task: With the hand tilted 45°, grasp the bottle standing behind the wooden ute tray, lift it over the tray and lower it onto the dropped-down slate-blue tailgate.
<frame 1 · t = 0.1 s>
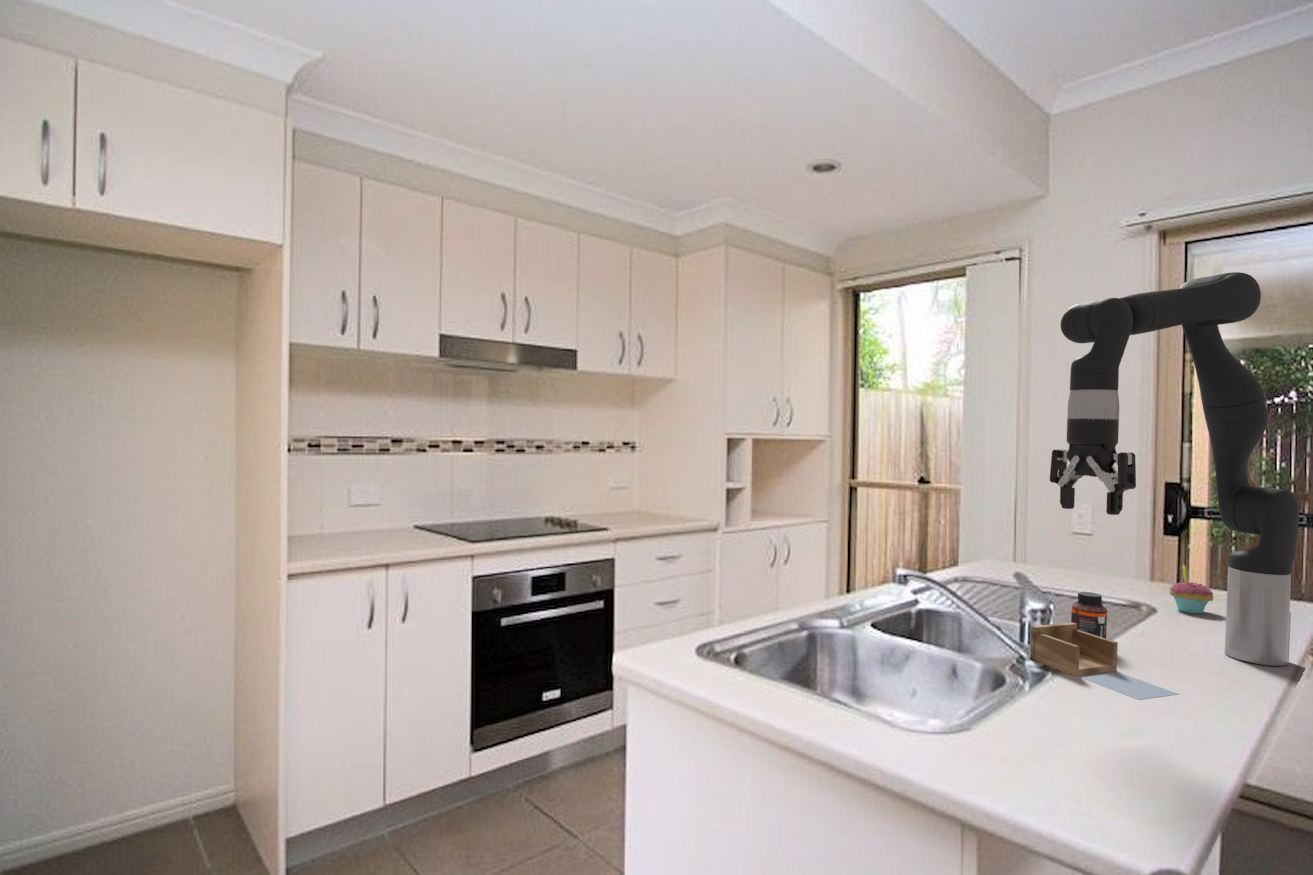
hand: (1089, 511, 119), 29 cm above the worktop, tool pointing down, fingers open, 8 cm apart
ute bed: (1072, 669, 125), on the worktop
cupcake: (1190, 612, 170), on the worktop
tailgate: (1128, 688, 115), on the worktop, hinge at 90.0°
supplement bottle: (1087, 652, 136), on the worktop
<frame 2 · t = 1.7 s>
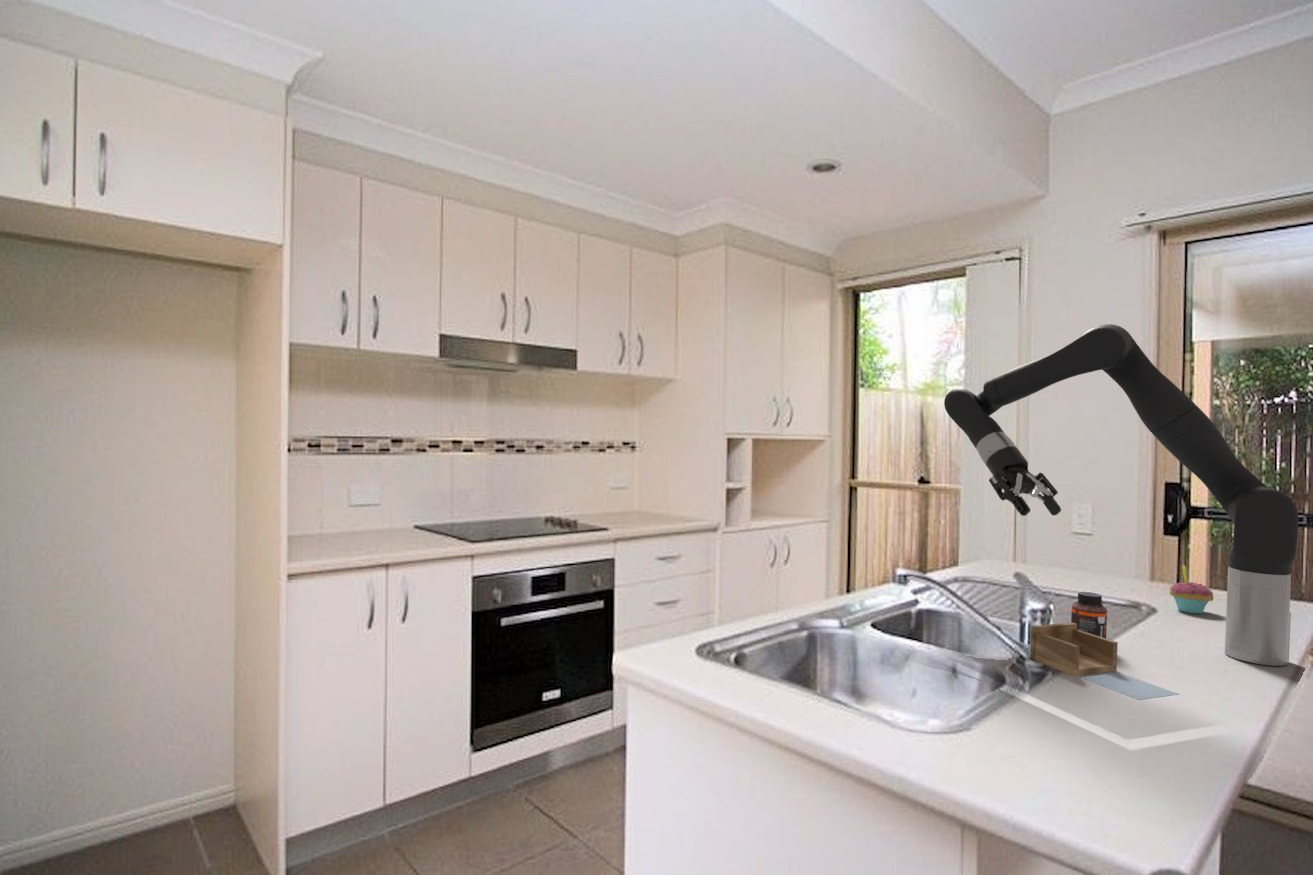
hand: (1042, 513, 146), 26 cm above the worktop, tool tilted 45°, fingers open, 8 cm apart
nothing on the worktop moved.
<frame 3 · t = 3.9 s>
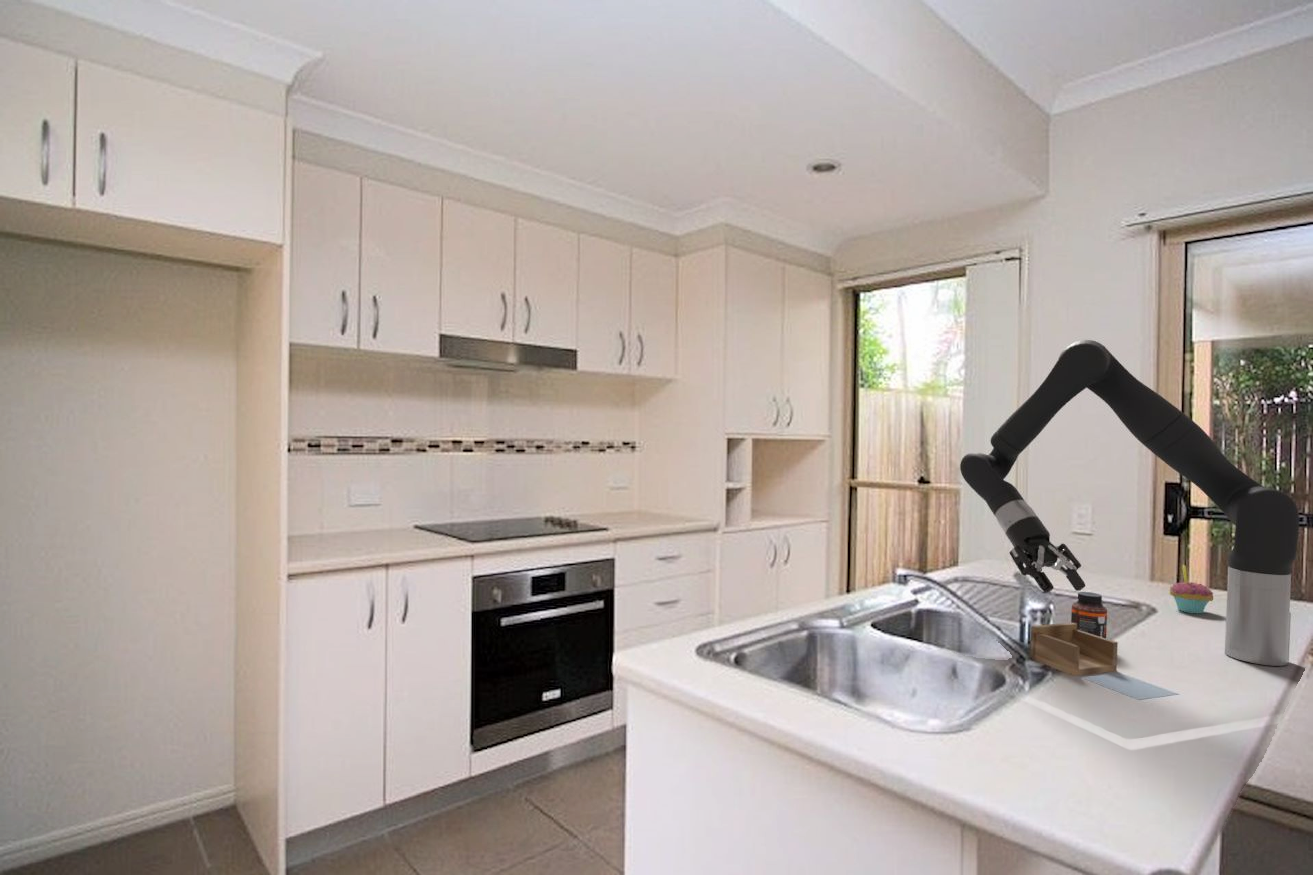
hand: (1065, 589, 141), 11 cm above the worktop, tool tilted 45°, fingers open, 8 cm apart
nothing on the worktop moved.
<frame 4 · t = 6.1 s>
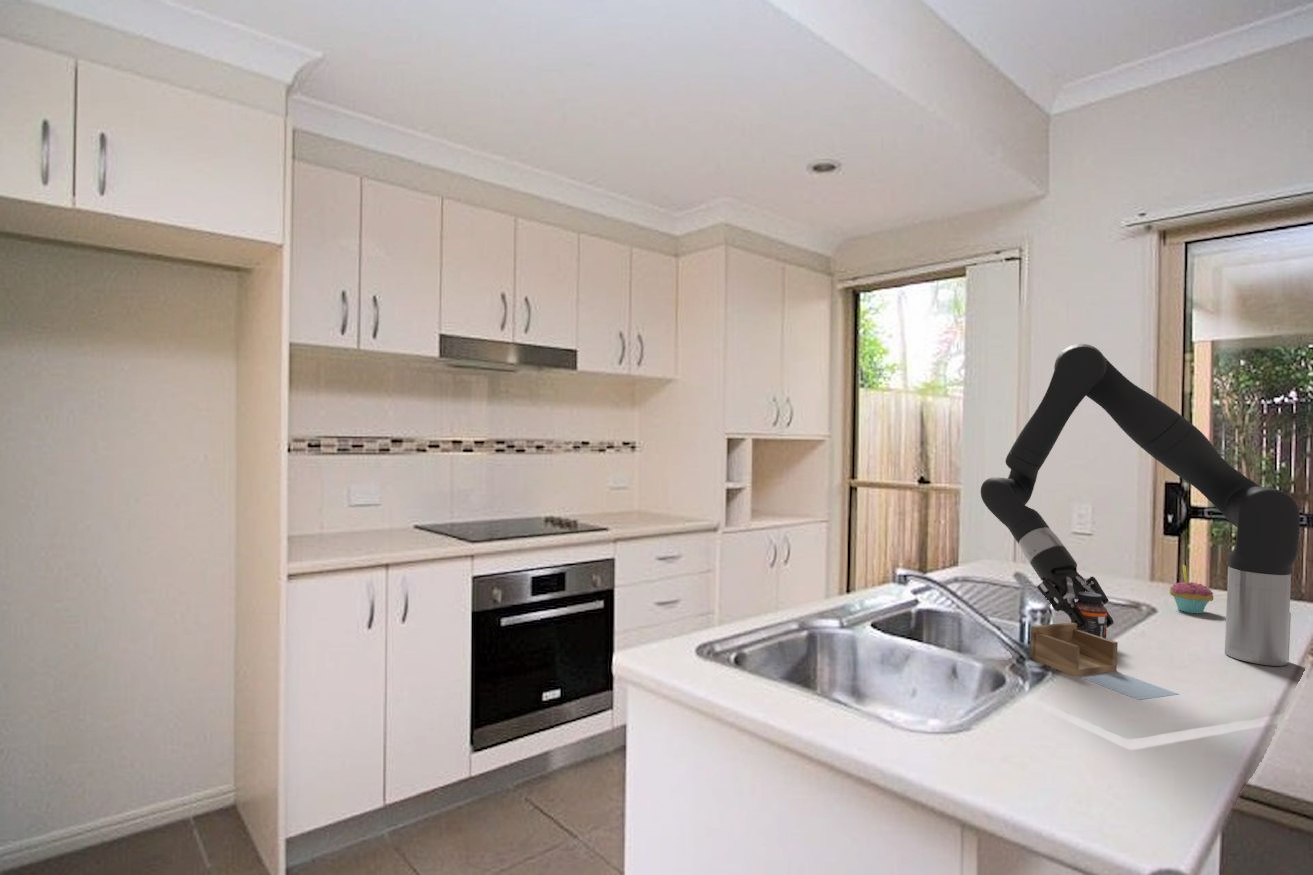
hand: (1097, 626, 134), 5 cm above the worktop, tool tilted 45°, fingers closed on supplement bottle, 6 cm apart
supplement bottle: (1087, 651, 136), on the worktop, touching gripper
everything else where it was.
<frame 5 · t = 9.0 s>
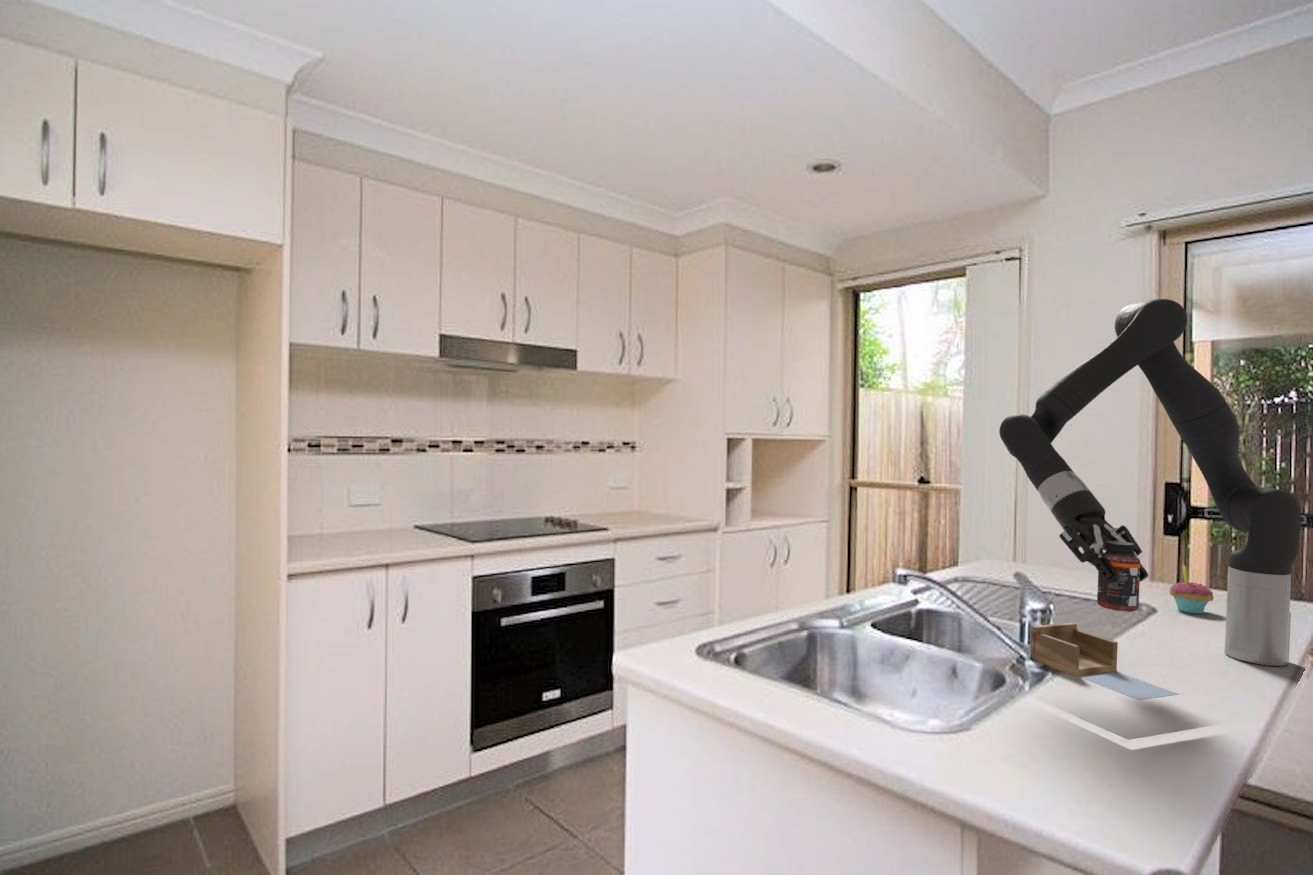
hand: (1128, 579, 117), 18 cm above the worktop, tool tilted 45°, fingers closed on supplement bottle, 6 cm apart
supplement bottle: (1117, 609, 119), point 13 cm above the worktop, touching gripper
everything else where it was.
when the fingers open (8 cm above the worktop, at t = 11.8 s): supplement bottle drops 1 cm, resting on tailgate.
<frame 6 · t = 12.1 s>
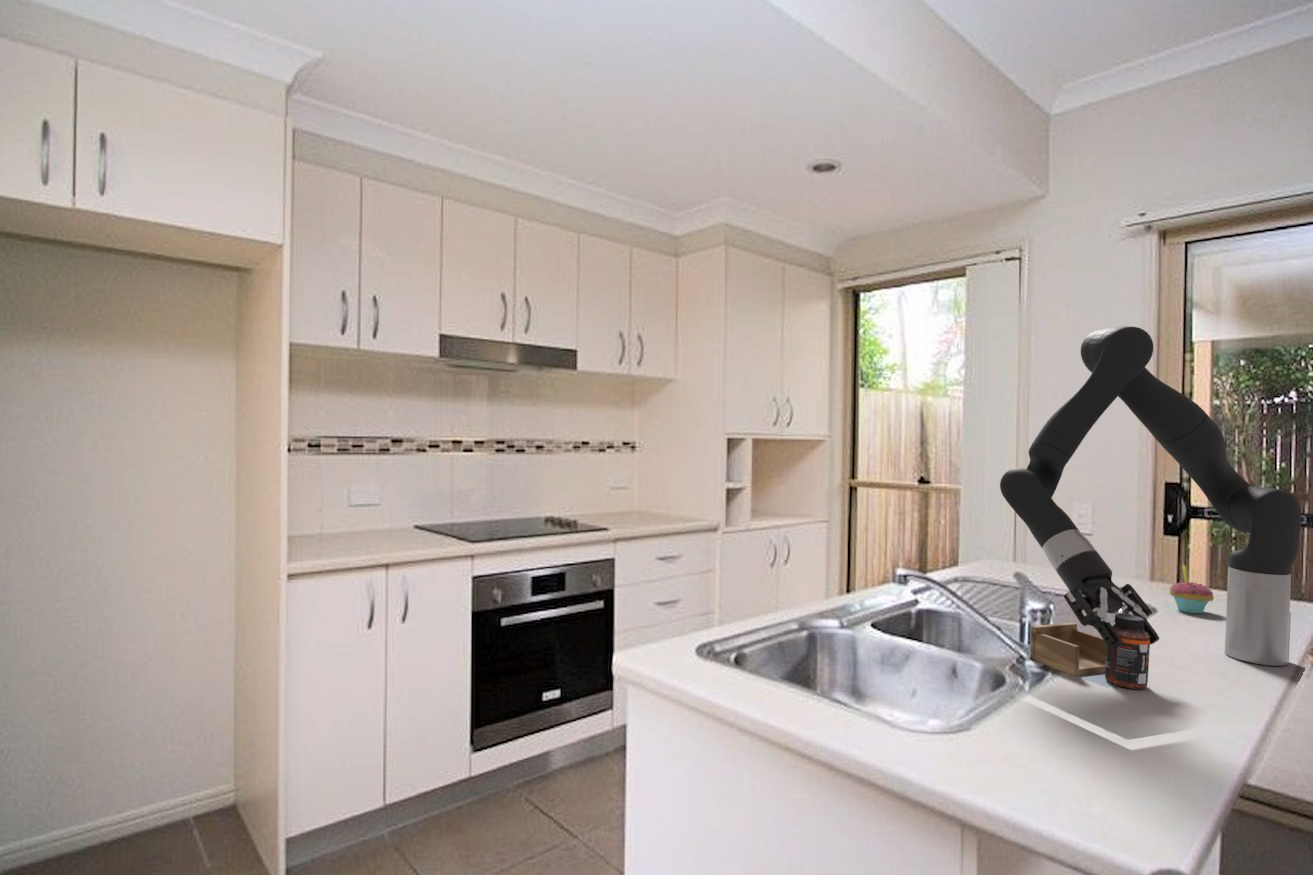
hand: (1136, 644, 114), 8 cm above the worktop, tool tilted 45°, fingers open, 8 cm apart
tailgate: (1128, 688, 115), on the worktop, hinge at 90.6°, touching supplement bottle
supplement bottle: (1125, 685, 115), point 1 cm above the worktop, touching tailgate
everything else where it was.
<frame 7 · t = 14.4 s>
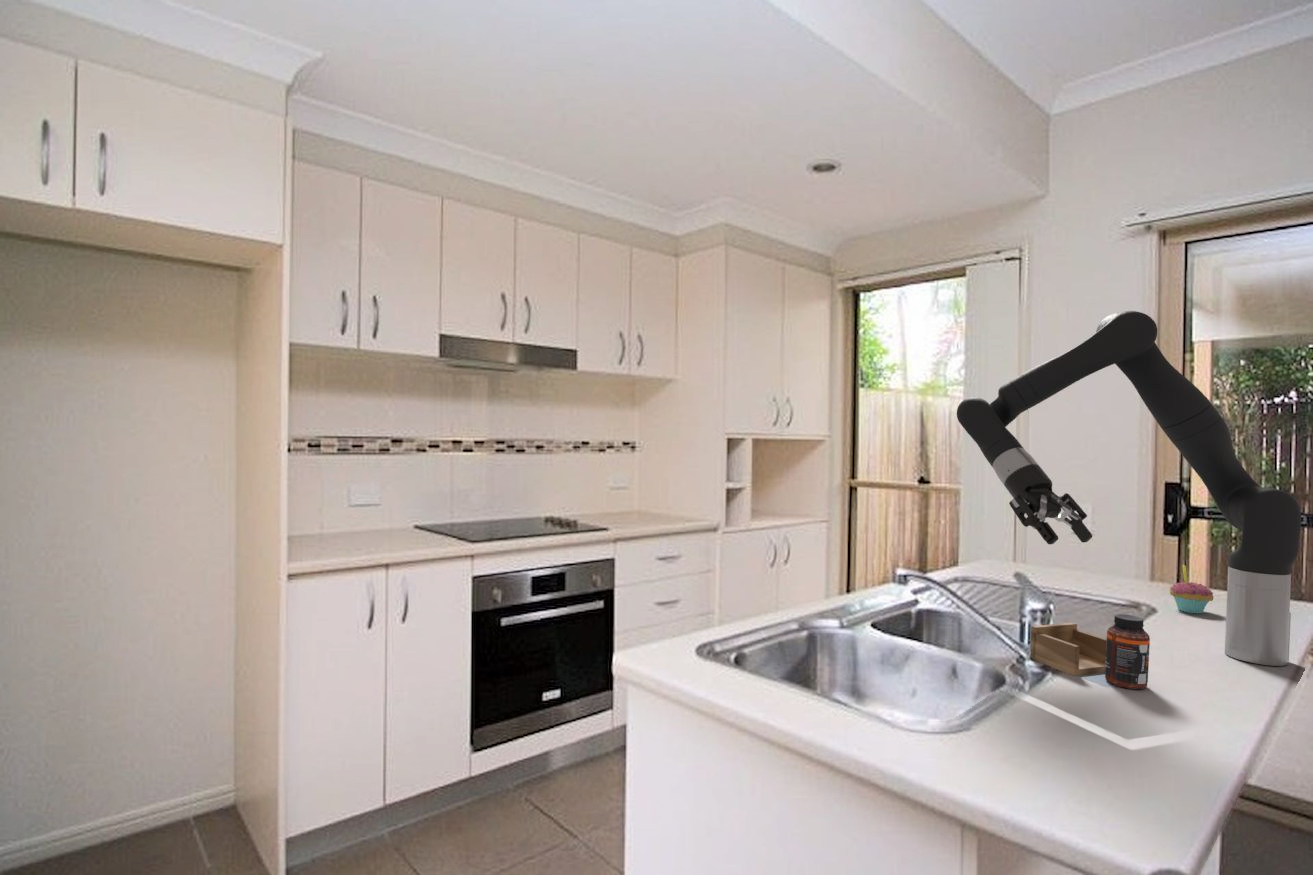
hand: (1071, 540, 129), 23 cm above the worktop, tool tilted 45°, fingers open, 8 cm apart
tailgate: (1128, 688, 115), on the worktop, hinge at 90.6°
supplement bottle: (1125, 685, 115), point 1 cm above the worktop
everything else where it was.
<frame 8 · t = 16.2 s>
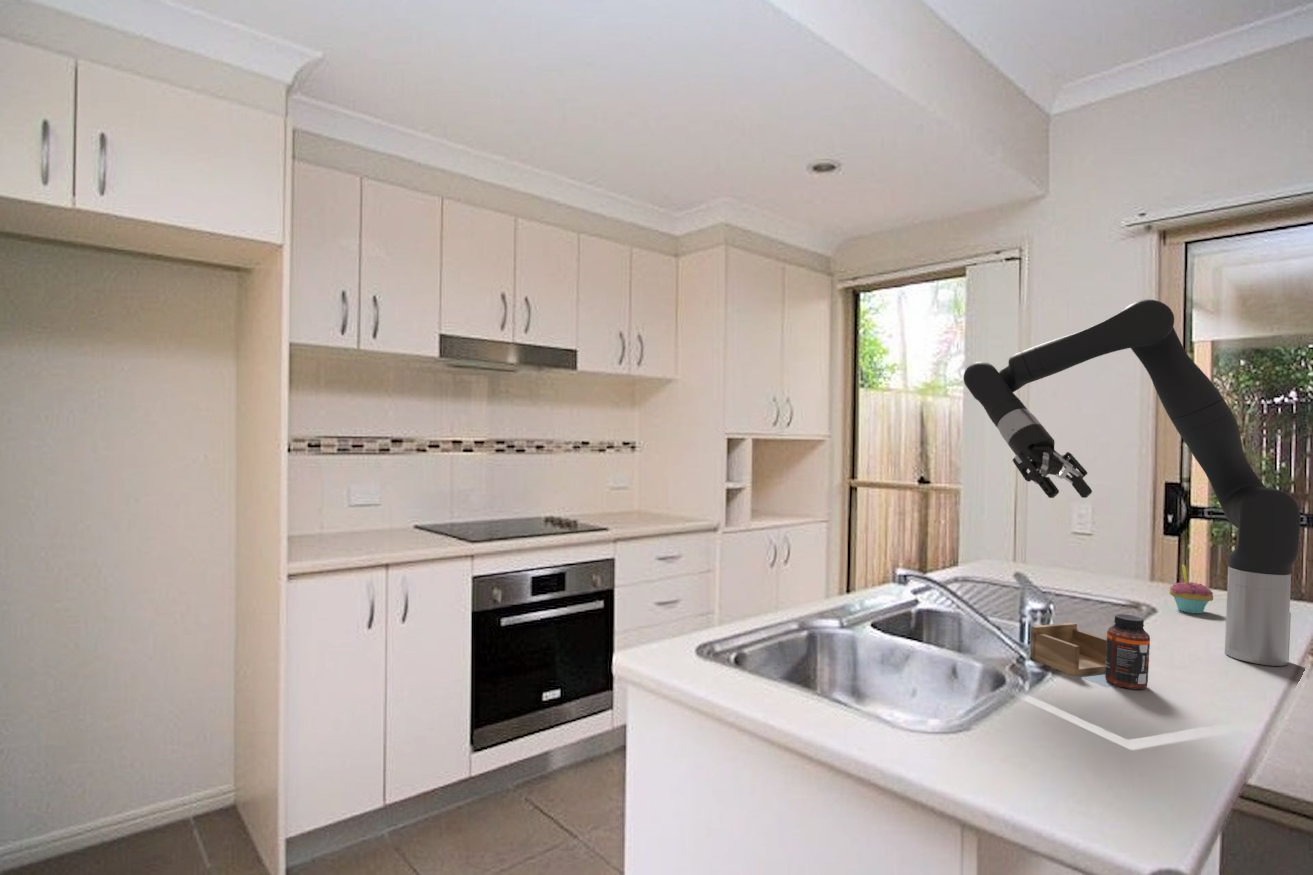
hand: (1071, 495, 134), 31 cm above the worktop, tool tilted 45°, fingers open, 8 cm apart
tailgate: (1128, 688, 115), on the worktop, hinge at 90.6°, touching supplement bottle
supplement bottle: (1125, 685, 115), point 1 cm above the worktop, touching tailgate
everything else where it was.
at the end: supplement bottle inside the target area (0.7 cm from its centre), point 0.8 cm above the worktop; supplement bottle tilted 1°; the gripper is holding nothing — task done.
